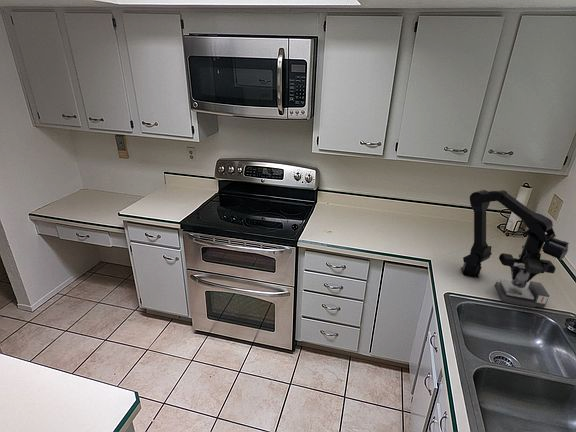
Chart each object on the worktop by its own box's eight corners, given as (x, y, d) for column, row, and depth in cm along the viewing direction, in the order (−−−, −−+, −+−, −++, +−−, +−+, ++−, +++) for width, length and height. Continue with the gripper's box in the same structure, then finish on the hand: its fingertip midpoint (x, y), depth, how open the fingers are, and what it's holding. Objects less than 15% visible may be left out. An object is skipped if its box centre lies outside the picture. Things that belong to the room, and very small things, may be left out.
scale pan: (506, 294, 145) (507, 292, 145) (499, 281, 154) (500, 279, 153) (533, 299, 143) (534, 297, 142) (525, 285, 152) (526, 283, 151)
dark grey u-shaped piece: (502, 301, 146) (506, 289, 143) (494, 285, 156) (498, 273, 154) (545, 309, 142) (551, 297, 140) (534, 292, 153) (539, 280, 150)
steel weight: (513, 286, 145) (519, 270, 142) (509, 279, 150) (515, 263, 147) (526, 289, 144) (533, 272, 141) (522, 282, 149) (529, 266, 145)
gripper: (512, 253, 135) (500, 287, 141) (568, 262, 131) (552, 296, 137) (504, 240, 144) (493, 272, 151) (555, 248, 140) (542, 280, 147)
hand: (519, 280), depth 146 cm, fingers closed on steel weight, 5 cm apart
